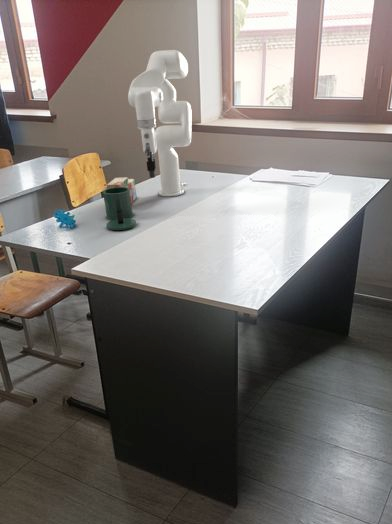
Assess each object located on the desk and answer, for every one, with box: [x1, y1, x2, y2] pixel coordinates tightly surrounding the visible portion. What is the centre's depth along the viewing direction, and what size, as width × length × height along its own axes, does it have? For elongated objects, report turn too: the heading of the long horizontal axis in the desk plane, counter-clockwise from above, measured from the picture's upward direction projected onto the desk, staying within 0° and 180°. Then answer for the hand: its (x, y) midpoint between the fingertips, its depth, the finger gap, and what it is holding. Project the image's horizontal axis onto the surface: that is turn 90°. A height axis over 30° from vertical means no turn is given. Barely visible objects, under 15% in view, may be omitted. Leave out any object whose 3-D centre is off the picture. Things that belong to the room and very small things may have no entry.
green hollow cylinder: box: [102, 187, 134, 221], centre depth 224 cm, size 12×12×12 cm
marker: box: [148, 152, 156, 179], centre depth 216 cm, size 2×2×10 cm
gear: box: [53, 208, 77, 230], centre depth 218 cm, size 11×6×10 cm
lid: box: [105, 210, 137, 231], centre depth 213 cm, size 13×13×7 cm
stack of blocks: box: [106, 176, 138, 204], centre depth 240 cm, size 21×6×12 cm, turn 168°
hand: (151, 169), depth 217 cm, fingers closed on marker, 2 cm apart
